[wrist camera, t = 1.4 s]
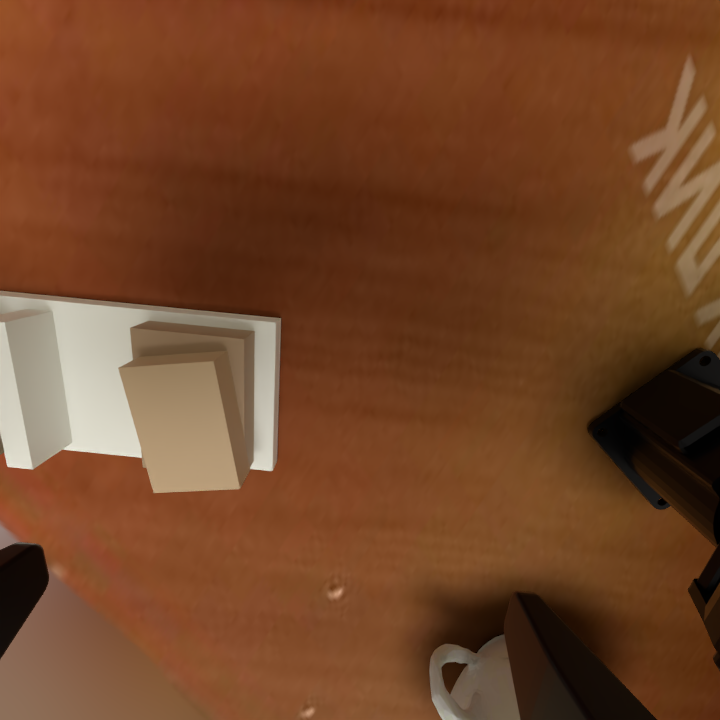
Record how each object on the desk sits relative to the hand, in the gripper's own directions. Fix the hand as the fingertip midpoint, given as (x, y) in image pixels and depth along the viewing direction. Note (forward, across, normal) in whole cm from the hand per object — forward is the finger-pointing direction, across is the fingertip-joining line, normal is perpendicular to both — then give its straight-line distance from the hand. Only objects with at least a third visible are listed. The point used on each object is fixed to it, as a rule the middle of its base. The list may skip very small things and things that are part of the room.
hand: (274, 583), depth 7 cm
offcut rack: (+13, +11, +2) cm, 17 cm away
